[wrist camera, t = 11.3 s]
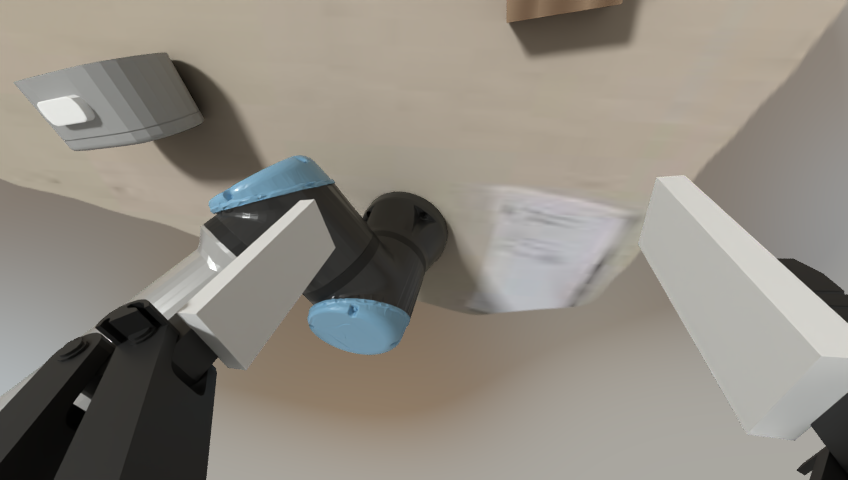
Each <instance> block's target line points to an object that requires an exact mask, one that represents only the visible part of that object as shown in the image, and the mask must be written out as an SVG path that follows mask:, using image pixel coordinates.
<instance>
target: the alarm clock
mask: <svg viewBox="0 0 848 480" xmlns="http://www.w3.org/2000/svg"><path fill="white" fill-rule="evenodd" d="M14 84H15V85H16V86H17V87H18V88H19V89H20V91H21V92H22V93H23V94H24V95H25V96H26V98H27V99H28V100H29V101H30V102H31V103H32V105H33V106H34V107H35V108H36V109H37V110H38V111H39V113H40V114H41V115H42V116H43V117H44V118H45V120H46V121H47V122H48V123H49V124H50V125H51V127H52V128H53V129H54V130H55V131H56V132H57V134H58V135H59V136H60V137H61V138H62V139H63V140H65V141H64V142H65V143H66V144H67V145H68V146H69V147H70V148H71V149H72V150H74V151H84V150H94V149H103V148H111V147H119V146H127V145H134V144H140V143H145V142H149V141H154V140H157V139H161V138H164V137H168V136H171V135H174V134H177V133H180V132H183V131H185V130H188V129H190V128H193V127H195V126H197V125H199V124H201V123H202V122H203V121H204V119H203V116H202V114H201V113H200V111H198V110H199V109H198V107H197V106H196V104H195V102H194V100H193V99H192V97H191V95H190V93H189V92H188V90H187V88H186V86H185V85H184V83H183V81H182V79H181V77H180V76H179V74H178V72H177V70H176V69H175V67H174V65H173V63H172V62H171V60H170V58H169V56H168V55H167V53H154V54H146V55H138V56H131V57H125V58H118V59H112V60H106V61H100V62H95V63H89V64H84V65H79V66H75V67H71V68H66V69H62V70H58V71H54V72H50V73H46V74H42V75H38V76H34V77H31V78H27V79H23V80H19V81H16V82H14Z"/></svg>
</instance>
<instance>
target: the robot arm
mask: <svg viewBox="0 0 848 480" xmlns="http://www.w3.org/2000/svg"><path fill="white" fill-rule="evenodd" d="M209 207H210V210H211V212H212V213H214V214H215V213H216V214H217V215H215V216H214V217H213V218H212V219H210V220H209V221H207V222H206V223H205V224H203V225H202V226H201V231H200V244H199V246H198V249H197V250H196V251H194V252H193V253H192V254H190V255H189V256H188V257H186V258H185V259H184V260H182V261H181V262H180V263H179V264H177V265H176V266H174V267H173V268H172V269H170V270H169V271H168V272H166V273H165V274H164V275H162V276H161V277H160V278H158V279H157V280H156V281H154V282H153V283H152V284H150V285H149V286H148V287H146V288H145V289H144V290H142V291H141V292H140V293H138V294H137V295H136V296H134V297H133V298H132V299H130V300H129V301H128V302H126V303H125V304H124V305H123V306H121V307H119V308H118V309H116V310H114V311H112V312H111V313H109V314H108V315H107V316H106V317H104V318H103V319H102V320H101V321H100V322H99V323H98V324H97V325H96V326H94V327H93V328H92V329H90V330H89V331H88V332H86V333H85V334H84V335H82V336H81V337H78V338H76V339H74V340H73V341H70V342H68V343H67V344H66V345H65V346H64V347H63V348H61V349H60V350H58V351H57V352H56V353H55V354H54V355H53V356H52V357H51V358H50V359H49V360H48V361H47V362H46V363H45V364H44V365H42V366H41V367H40V368H38V369H37V370H36V371H34V372H33V373H32V374H30V375H29V376H28V377H26V378H25V379H24V380H22V381H21V382H20V383H18V384H17V385H15V386H14V387H13V388H12V389H10V390H9V391H7V392H6V393H5V394H3V395H2V396H1V397H0V480H206V476H207V466H208V456H209V446H210V436H211V425H212V416H213V406H214V396H215V386H216V376H217V372H216V368H215V367H214V366H213V365H212V364H213V362H214V361H215V360H216V359H217V358H219V359H220V360H221V361H222V362H223V363H224V364H225V365H226V366H227V367H228V368H234V369H242V370H247V368H248V367H249V366H250V364H251V363H252V361H253V360H254V359H255V357H256V356H257V355H258V353H259V352H260V350H261V349H262V348H263V346H264V345H265V344H266V342H267V341H268V339H269V338H270V337H271V335H272V334H273V333H274V331H275V330H276V328H277V327H278V326H279V324H280V323H281V322H282V320H283V319H284V318H285V316H286V315H287V314H288V312H289V311H290V309H291V308H292V307H293V305H294V304H295V303H296V301H297V300H298V298H299V297H300V296H301V294H303V295H304V296H305V297H306V298H307V299H308V300H309V301H310V302H311V303H312V304H313V306H312V307H311V308H310V310H309V315H308V323H309V326H310V329H311V330H312V331H313V333H315V335H316V336H318V337H319V338H320V339H322V340H323V341H325V342H326V343H328V344H330V345H332V346H334V347H336V348H339V349H342V350H345V351H348V352H353V353H357V354H367V355H374V354H381V353H384V352H388V351H390V350H392V349H393V348H394V347H396V346H397V345H398V343H399V342H400V340H401V338H402V336H403V334H404V331H405V329H406V327H407V326H408V325H409V322H410V318H411V314H412V312H413V308H414V305H415V302H416V299H417V296H418V293H419V290H420V287H421V284H422V281H423V277H424V274H425V272H426V271H427V270H428V269H429V268H430V267H431V266H432V265H433V264H434V262H435V261H437V260H438V259H439V257H440V256H441V254H442V253H443V251H444V248H445V244H446V241H447V227H446V223H445V221H444V219H443V217H442V215H441V214H440V212H439V211H438V210H437V209H436V208H435V207H434V206H433V205H432V204H431V203H430V202H428V201H427V200H425V199H423V198H421V197H419V196H417V195H414V194H411V193H406V192H391V193H387V194H384V195H381V196H380V197H378V198H376V199H375V200H374V201H373V202H372V203H371V205H370V206H369V207H368V209H367V210H366V212H365V214H364V216H363V218H362V217H361V216H360V215H359V213H358V212H357V211H356V210H355V208H354V207H353V206H352V205H351V204H350V202H349V201H348V200H347V199H346V197H345V196H344V195H343V194H342V193H341V191H340V190H339V189H338V188H337V186H336V185H335V182H334V180H333V179H330V178H329V177H328V176H327V175H326V174H325V172H324V171H323V170H322V169H321V168H320V167H319V166H318V165H317V164H316V163H315V161H313V160H312V159H311V158H309V157H306V156H301V155H298V156H293V157H290V158H287V159H285V160H282V161H280V162H278V163H276V164H273V165H271V166H269V167H267V168H265V169H263V170H261V171H259V172H257V173H255V174H253V175H251V176H249V177H247V178H246V179H244V180H242V181H240V182H238V183H237V184H235V185H233V186H232V187H231V188H229V189H227V190H225V191H224V192H222V193H220V194H218V195H216V196H215V197H213V198H212V199H211V200H210V201H209ZM638 245H639V247H640V248H641V250H642V252H643V253H644V255H645V257H646V259H647V261H648V262H649V264H650V266H651V268H652V269H653V271H654V273H655V275H656V276H657V278H658V280H659V282H660V283H661V285H662V287H663V289H664V290H665V292H666V294H667V296H668V297H669V299H670V301H671V303H672V304H673V306H674V308H675V309H676V311H677V313H678V315H679V316H680V318H681V320H682V322H683V324H684V325H685V327H686V329H687V331H688V332H689V334H690V336H691V338H692V339H693V341H694V343H695V345H696V346H697V348H698V350H699V351H700V354H701V355H702V357H703V359H704V361H705V362H706V364H707V366H708V367H709V369H710V371H711V373H712V375H713V376H714V378H715V380H716V381H717V383H718V385H719V387H720V388H721V390H722V392H723V394H724V395H725V397H726V399H727V401H728V402H729V404H730V406H731V408H732V410H733V411H734V413H735V415H736V416H737V418H738V420H739V422H740V423H741V425H742V427H743V429H744V430H745V432H746V434H747V435H755V436H763V437H770V438H778V439H787V440H796V439H797V438H798V437H799V436H801V435H802V434H803V433H804V432H805V431H806V430H808V429H809V428H810V427H811V426H812V428H813V429H814V430H815V432H816V433H817V434H818V436H819V437H820V438H821V440H822V441H823V443H824V444H825V445H826V447H824V448H823V449H822V450H820V451H819V452H818V453H816V454H815V455H814V456H812V457H811V458H810V459H808V460H807V461H806V462H804V463H803V464H802V465H801V466H800V467H799V468H798V469H797V471H799V472H800V473H802V474H803V475H806V474H807V473H809V472H810V471H812V473H811V477H810V480H848V295H845V294H844V291H843V290H842V289H841V288H840V287H839V286H837V285H836V284H835V283H834V282H833V281H831V280H830V279H829V278H828V277H827V276H825V275H824V274H823V273H821V272H819V271H817V270H815V269H813V268H811V267H809V266H807V265H805V264H803V263H801V262H799V261H797V260H795V259H776V258H775V257H774V256H773V255H772V254H771V253H770V252H769V251H767V250H766V249H765V248H764V247H763V246H762V245H761V244H760V243H758V242H757V241H756V240H755V239H754V238H753V237H752V236H751V235H750V234H749V233H748V232H746V231H745V230H744V229H743V228H742V227H741V226H740V225H739V224H738V223H736V222H735V221H734V220H733V219H732V218H731V217H730V216H729V215H728V214H726V212H724V211H723V210H722V209H721V208H720V207H719V206H718V205H717V204H716V203H714V202H713V201H712V200H711V199H710V198H709V197H708V196H707V195H706V194H705V193H703V192H702V191H701V190H700V189H699V188H698V187H697V186H696V185H694V183H692V182H691V181H690V180H689V179H688V178H687V177H686V176H685V175H682V176H666V177H657V178H656V181H655V185H654V188H653V192H652V196H651V199H650V203H649V206H648V210H647V214H646V217H645V221H644V224H643V228H642V232H641V235H640V239H639V242H638Z"/></svg>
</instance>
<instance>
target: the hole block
mask: <svg viewBox="0 0 848 480" xmlns="http://www.w3.org/2000/svg"><path fill="white" fill-rule="evenodd" d="M622 1H623V0H507V23H509V22H515V21H521V20H527V19H533V18H540V17H546V16H552V15H558V14H564V13H570V12H576V11H582V10H588V9H594V8H601V7H607V6H613V5H619V4H622Z"/></svg>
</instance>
